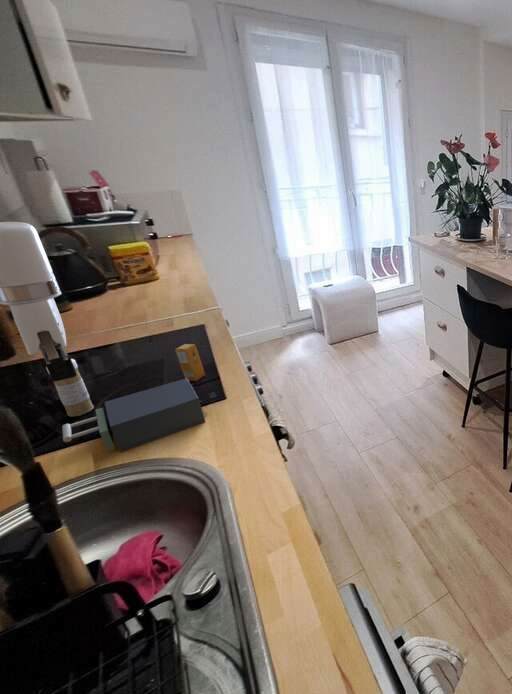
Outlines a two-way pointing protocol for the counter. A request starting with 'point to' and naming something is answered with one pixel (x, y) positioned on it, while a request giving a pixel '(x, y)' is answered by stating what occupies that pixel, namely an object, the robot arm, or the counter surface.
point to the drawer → (102, 427)
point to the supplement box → (190, 362)
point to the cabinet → (153, 413)
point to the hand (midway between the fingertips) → (65, 377)
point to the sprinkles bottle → (74, 394)
